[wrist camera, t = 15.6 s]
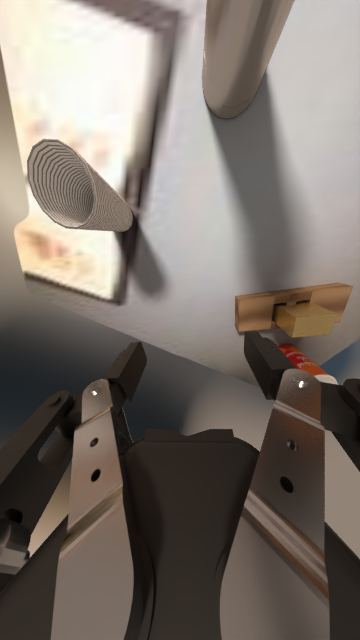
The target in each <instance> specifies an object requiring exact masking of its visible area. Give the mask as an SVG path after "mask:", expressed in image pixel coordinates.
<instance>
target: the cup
mask: <svg viewBox="0 0 360 640" xmlns="http://www.w3.org/2000/svg"><path fill="white" fill-rule="evenodd" d="M27 170H28V180H29V183H30V187H31V190H32V193H33V196H34V197H35V199H36V201H37V202H38V204H39V205H40V207H41V209H42V210H43V211H44V212H45V213H46V214H47V215H48V216H49V217H50V218H51V219H52V220H53V221H54V222H55V223H57V224H59V225H61V226H63V227H65V228H69V229H84V230H102V231H120V232H124V231H126V230H128V229H129V228H130V227H131V225H132V221H133V214H132V211H131V208H130V206H129V205H128V204H127V203H126V202H125V201H124V200H123V199H122V198H121V197H120V196H119V194H118V193H117V192H116V191H115V190H114V189H113V188H112V187H111V186H110V185H109V184H108V183H107V182H106V181H105V180H104V179H103V178H102V177H101V176H100V175H99V174H98V173H97V172H96V171H95V170H94V169H93V168H92V167H91V166H90V165H89V164H88V163H87V162H86V161H85V160H84V159H83V158H82V157H81V156H80V155H79V154H78V153H77V152H76V151H75V150H74V149H73V148H72V147H70V146H68V145H67V144H65V143H63V142H62V141H60V140H58V139H43V140H41V141H40V142H38V143H37V144H36V145H34V146H33V147H32V150H31V152H30V155H29V157H28V160H27Z"/></svg>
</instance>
